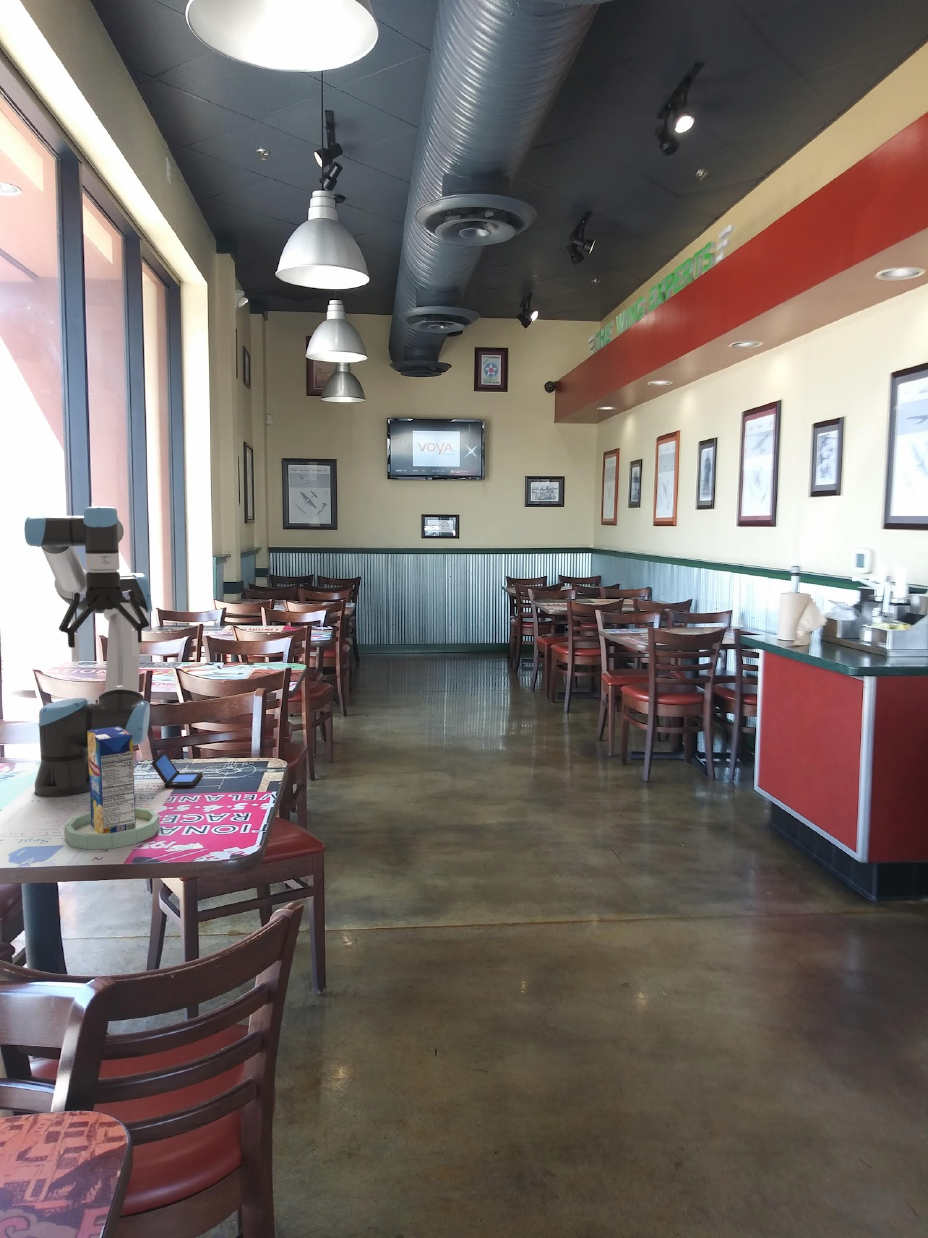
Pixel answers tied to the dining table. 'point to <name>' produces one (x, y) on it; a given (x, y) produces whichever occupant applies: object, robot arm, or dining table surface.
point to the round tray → (88, 838)
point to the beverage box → (111, 780)
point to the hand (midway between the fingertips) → (106, 658)
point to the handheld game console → (174, 773)
